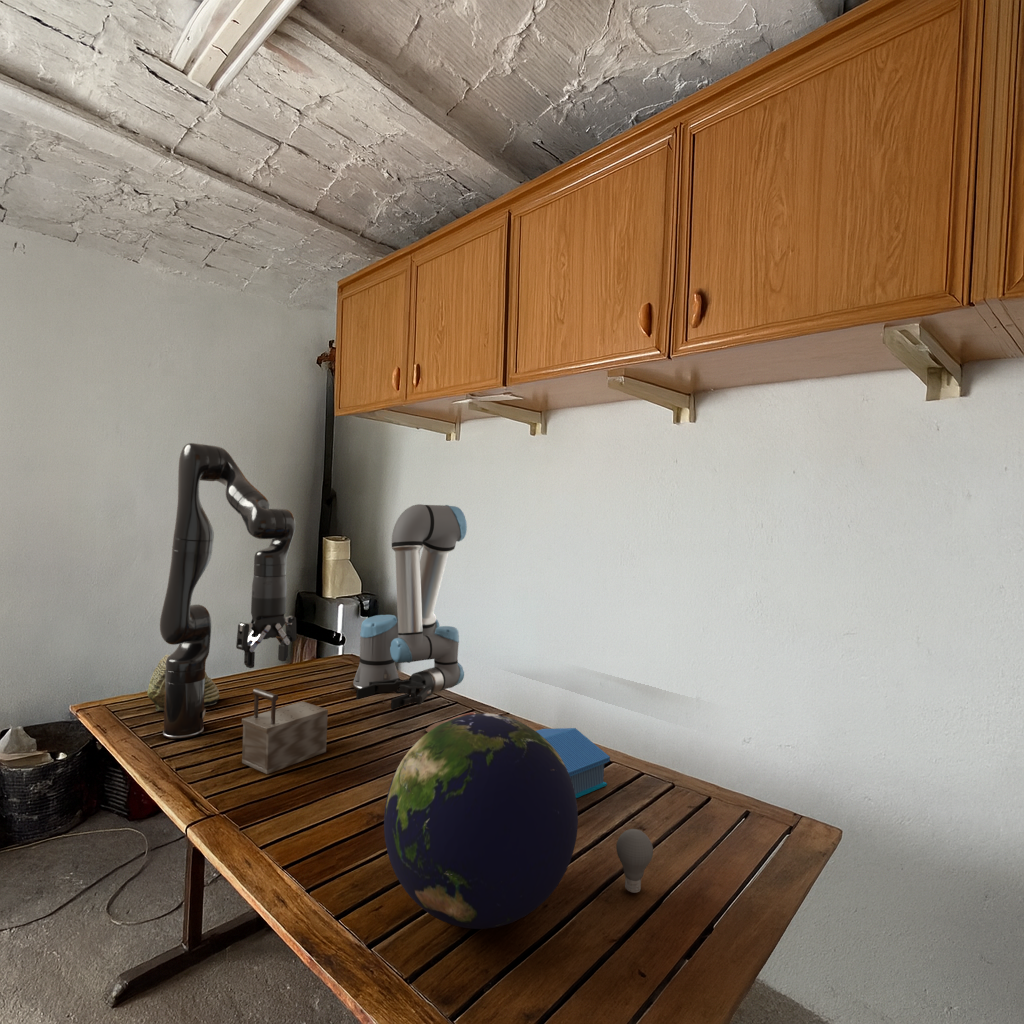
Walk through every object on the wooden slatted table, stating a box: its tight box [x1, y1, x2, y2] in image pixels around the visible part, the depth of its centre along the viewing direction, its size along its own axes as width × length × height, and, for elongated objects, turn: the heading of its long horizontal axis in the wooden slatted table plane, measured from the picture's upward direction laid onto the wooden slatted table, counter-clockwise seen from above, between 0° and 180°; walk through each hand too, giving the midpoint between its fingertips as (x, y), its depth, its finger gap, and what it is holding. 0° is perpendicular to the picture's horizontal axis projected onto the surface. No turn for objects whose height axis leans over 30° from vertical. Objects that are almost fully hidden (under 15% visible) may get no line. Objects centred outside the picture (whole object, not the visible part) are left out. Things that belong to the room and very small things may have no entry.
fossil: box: [147, 654, 221, 712], centre depth 185 cm, size 9×18×15 cm, turn 132°
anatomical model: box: [425, 711, 477, 733], centre depth 175 cm, size 13×4×12 cm
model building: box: [535, 727, 611, 799], centre depth 138 cm, size 39×24×10 cm, turn 132°
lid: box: [241, 687, 329, 733], centre depth 152 cm, size 17×10×8 cm, turn 146°
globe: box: [383, 712, 579, 930], centre depth 99 cm, size 30×30×30 cm
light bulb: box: [615, 828, 654, 894], centre depth 106 cm, size 6×6×10 cm
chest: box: [241, 713, 329, 775], centre depth 153 cm, size 17×10×9 cm, turn 146°
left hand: (266, 663), depth 147 cm, fingers open, 8 cm apart
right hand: (374, 699), depth 176 cm, fingers open, 13 cm apart
